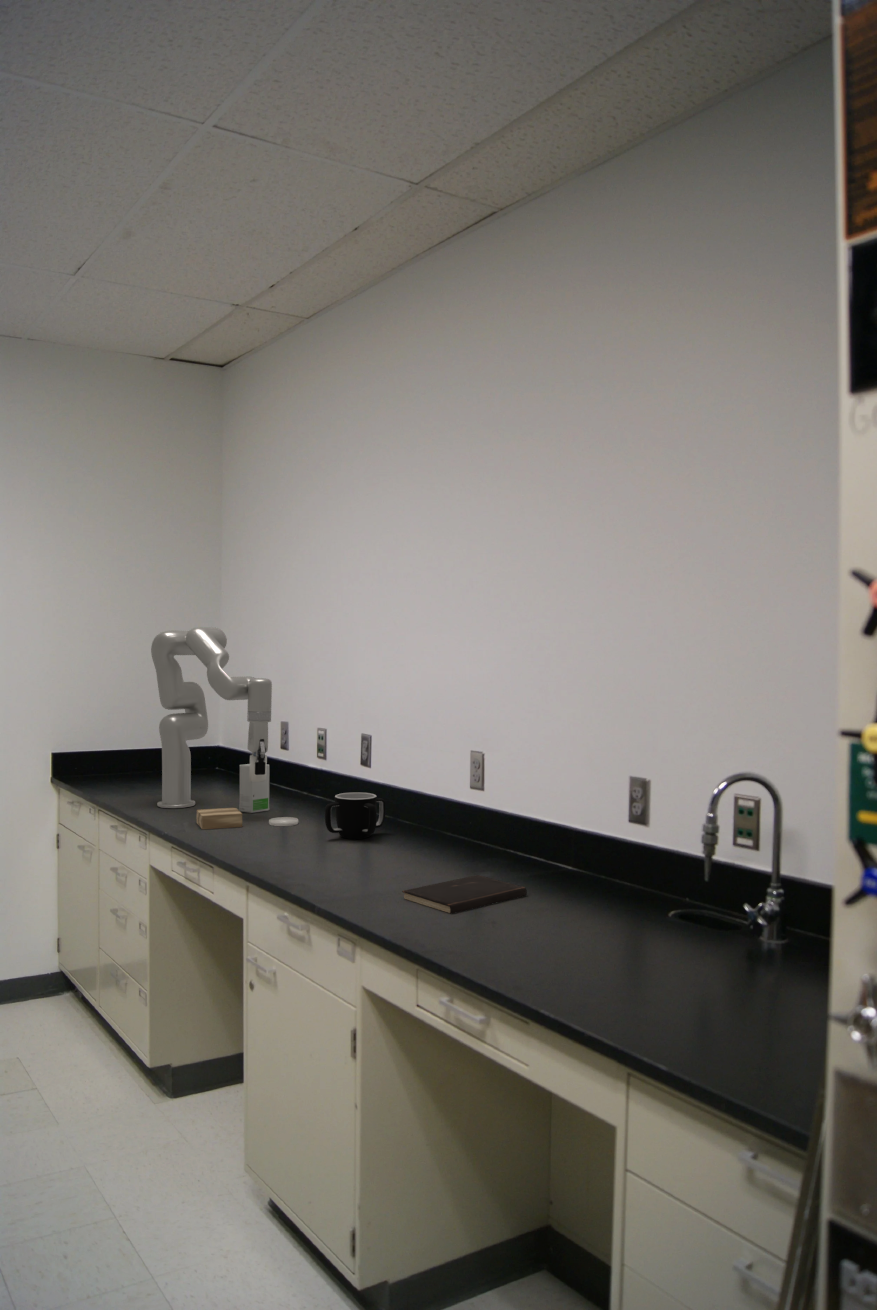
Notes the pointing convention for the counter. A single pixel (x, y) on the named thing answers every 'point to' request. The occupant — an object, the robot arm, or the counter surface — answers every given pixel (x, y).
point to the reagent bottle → (252, 775)
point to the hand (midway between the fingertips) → (258, 772)
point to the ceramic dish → (283, 821)
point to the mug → (355, 815)
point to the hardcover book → (464, 893)
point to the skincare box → (253, 792)
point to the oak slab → (219, 818)
